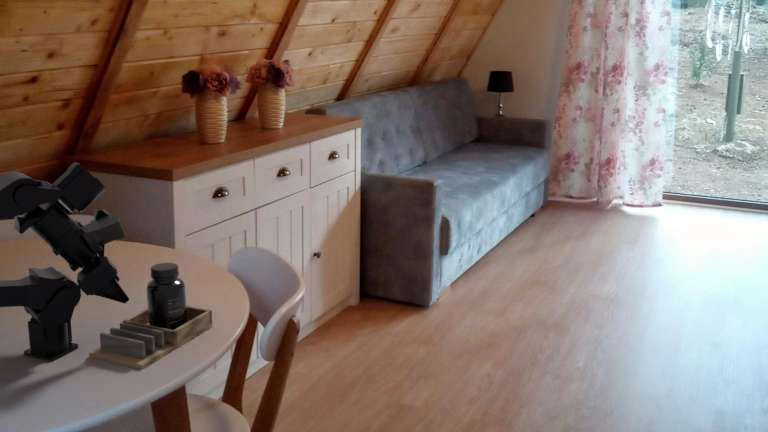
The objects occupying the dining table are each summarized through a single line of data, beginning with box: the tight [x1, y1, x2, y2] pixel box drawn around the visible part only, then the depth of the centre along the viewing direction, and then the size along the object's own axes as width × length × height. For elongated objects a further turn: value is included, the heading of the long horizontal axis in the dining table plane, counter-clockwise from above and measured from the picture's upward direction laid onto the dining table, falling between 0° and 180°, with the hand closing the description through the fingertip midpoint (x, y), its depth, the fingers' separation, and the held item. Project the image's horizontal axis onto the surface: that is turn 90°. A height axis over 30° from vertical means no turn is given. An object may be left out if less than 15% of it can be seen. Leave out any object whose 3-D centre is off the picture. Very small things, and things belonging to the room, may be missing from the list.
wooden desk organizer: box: [88, 305, 213, 370], centre depth 148 cm, size 20×11×4 cm, turn 157°
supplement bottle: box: [145, 262, 188, 330], centre depth 151 cm, size 7×7×12 cm
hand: (122, 291), depth 148 cm, fingers open, 9 cm apart
